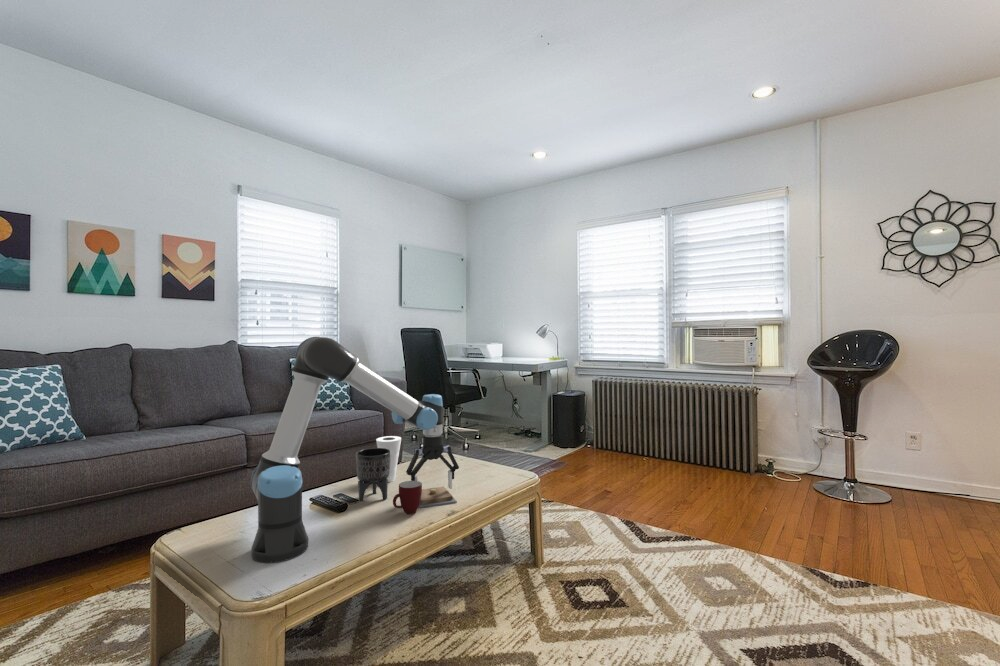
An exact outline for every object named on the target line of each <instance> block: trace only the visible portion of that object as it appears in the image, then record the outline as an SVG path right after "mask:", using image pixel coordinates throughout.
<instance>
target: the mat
mask: <svg viewBox="0 0 1000 666" xmlns="http://www.w3.org/2000/svg"><path fill="white" fill-rule="evenodd" d="M457 503H458V502H457V500H456V498H455V497H453V500H449V501H442V502H435V503H429V504H422V505H421V504H420V505H419V507H418V509H426V508H431V507H439V506H445V505H451V504H457Z"/></svg>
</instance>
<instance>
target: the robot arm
mask: <svg viewBox="0 0 1000 666" xmlns="http://www.w3.org/2000/svg"><path fill="white" fill-rule="evenodd" d="M359 361H360V360H359V357H358V356H357V355H355V354H353V353H352V352H351V351H349V350H348V349H347V348H346V347H344V346H343V345H342V344H340V343H339V342H338V341H337V340H335V339H333V338H331V337H326V336H325V337H324V336H323V337H321V336H311V337H308V338H306V339H304V340H303V341H302V342H300V343H299V345H298V346H297V348H296V351H295V361H294V364H293V368H292V371H291V373H292V375H293V377H294V379H293V383H292V385H291V387H290V391H289V393H288V396H287V399H286V402H285V404H284V407H283V410H282V412H281V416H280V418H279V422H278V425H277V427H276V430H275V433H274V435H273V439H272V442H271V444H270V447H269V449H268V450H267V451H266V452H264V453H262V454H261V456H260V459H259V463H258V465H257V466H256V467H255V468H254V470H253V472H252V474H251V476H250V477H251V478H250V487H251V490H252V492H253V494H254V495H255V498H256V500H257V521H258V522H257V524H258V525H257V526H258V527H257V530H256V533H255V537H254V539H253V543H252V545H251V549H250V551H251V559H252V560H253V561H255V562H259V563H267V564H269V563H272V564H273V563H279V562H283V561H288V560H290V559H294V558H296V557H298V556H300V555H302V554H304V553H305V552H306V551H307V550H308V549H309V537H308V536H309V535H308V533H307V531H306V528H305V525H304V522H303V477H302V471H301V470H300V468H299V466H300V463H301V461H300V459H299V456H298V455H299V452H300V449H301V445H302V443H303V439H304V437H305V434H306V430H307V428H308V425H309V422H310V419H311V417H312V413H313V410H314V407H315V405H316V401H317V399H318V395H319V393H320V390H321V387H322V386H323V384H326V383H328V382H329V378H332V379H334V380H335V381H337V382H338V383H346V384H347V385H349V386H350V387H352V388H354V389H356V390H357V391H359V392H361V393H362V394H364V395H366V396H367V397H369V398H370V399H372V400H373V401H375V402H377V403H378V404H380V405H381V406H383V407H385V408H386V409H388V410H390V411H391V418H392V421H393V422H394V424H397V425H398V424H402V425H403V424H409V425H411V426H414V427H416V428H418V429H420V430H422V435H423V437H422V448H415V449H414V453H413V455H412V458H411V460H410V463H409V465H408V467H407V469H406V471H405V473H406V475H407V476H410V481H418V475H417V474H418V472H419V471H420V470H421V469H422V467H423V465H424V464H425V463H426V462H427V461H432V460H438V459H440V460H441V461H442V462H443V464H445V465H446V467H448V470H447V487H448V489H451V490H452V489H453V480H454V479H455V472H456V471H457V470H458V469H459V468H460V466H459V465H458V462H457V460H456V458H455V457H454V455H453V452H452V447H451V446H450V445H448V444H447V445H445V446H443V442H444V440H443V439H444V438H443V437H444V436H443V416H444V415H443V411H444V410H443V407H444V404H443V396H442V395H440V394H436V393H431V394H424V395H423V396H422V400H420V401H419V400H417V399H416V398H413V396H411V395H410V394H408V393H406V392H405V391H403V390H402V389H400V388H399V387H398V386H396V385H394V384H393V383H391V382H390V381H388V380H387V379H385V378H384V377H382V376H380V375H379V374H377V373H376V372H375V371H373V369H370V368H369V367H367V366H366V365H364V364H363V363H361V362H359ZM444 452H446V453H447V455H448V457H449V460H450V461H451V462H452V464H451V463H450V462H449V461H448V460H447V459H446V458H445V457H444V455H443V453H444ZM421 454H423V455H422V457H421V459H420V460H419V461H418V459H419V456H420V455H421ZM417 461H418V462H417ZM416 463H417V464H416ZM452 465H453V466H452Z"/></svg>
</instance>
